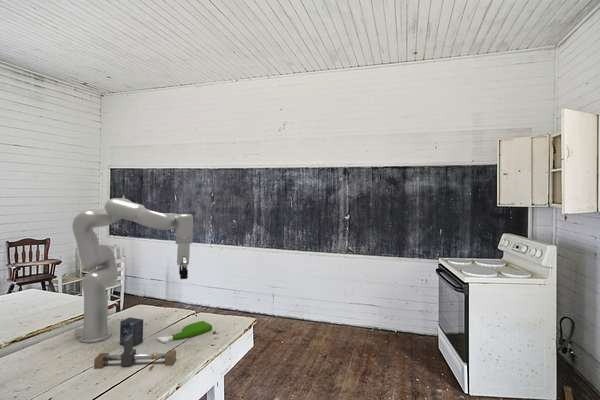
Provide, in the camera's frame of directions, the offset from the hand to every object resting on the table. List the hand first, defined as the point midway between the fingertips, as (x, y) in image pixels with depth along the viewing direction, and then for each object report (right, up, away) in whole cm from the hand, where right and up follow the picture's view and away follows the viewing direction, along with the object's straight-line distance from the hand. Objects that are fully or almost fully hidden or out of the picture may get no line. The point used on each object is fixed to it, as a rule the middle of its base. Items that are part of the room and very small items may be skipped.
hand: (183, 276), depth 152 cm
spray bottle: (-1, -30, +5) cm, 30 cm away
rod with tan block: (-10, -29, -24) cm, 39 cm away
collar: (-13, -29, -24) cm, 40 cm away
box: (-21, -29, -6) cm, 37 cm away
